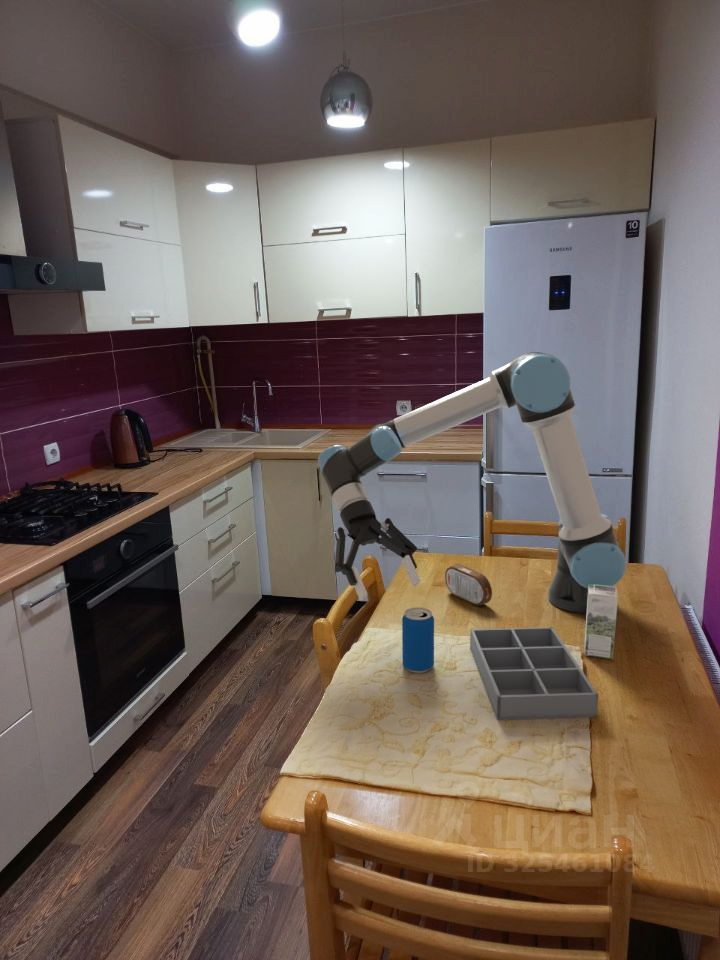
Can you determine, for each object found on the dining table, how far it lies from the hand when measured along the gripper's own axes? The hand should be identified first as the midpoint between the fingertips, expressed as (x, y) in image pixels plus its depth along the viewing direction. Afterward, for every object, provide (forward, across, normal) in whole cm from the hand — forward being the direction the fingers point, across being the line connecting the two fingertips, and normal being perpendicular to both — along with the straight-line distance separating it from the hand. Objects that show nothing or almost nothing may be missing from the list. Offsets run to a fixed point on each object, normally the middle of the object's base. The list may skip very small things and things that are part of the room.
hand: (391, 590), depth 137 cm
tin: (+2, -31, -18) cm, 36 cm away
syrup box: (+28, -36, +8) cm, 46 cm away
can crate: (+27, -16, +8) cm, 32 cm away
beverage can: (+16, 0, -3) cm, 17 cm away
